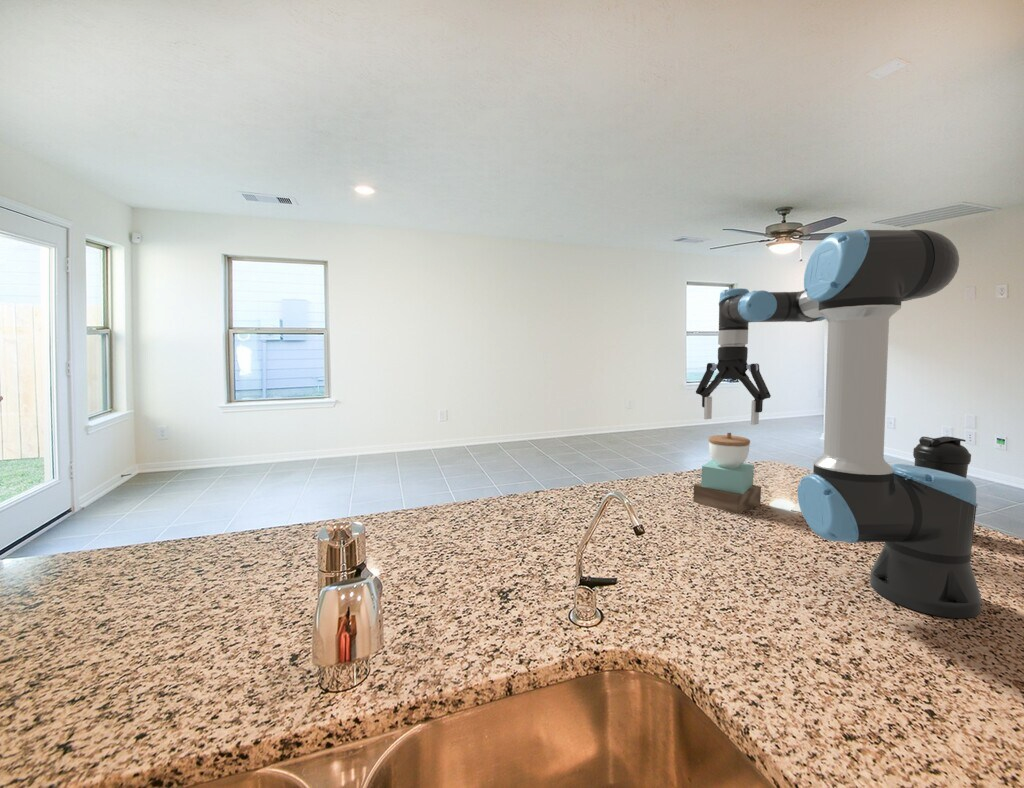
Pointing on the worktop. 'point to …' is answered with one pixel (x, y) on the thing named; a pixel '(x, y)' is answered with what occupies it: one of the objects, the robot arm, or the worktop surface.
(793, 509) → the page
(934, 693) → the worktop surface
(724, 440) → the lidded jar
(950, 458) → the water bottle
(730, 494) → the walnut base
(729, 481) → the teal brick
